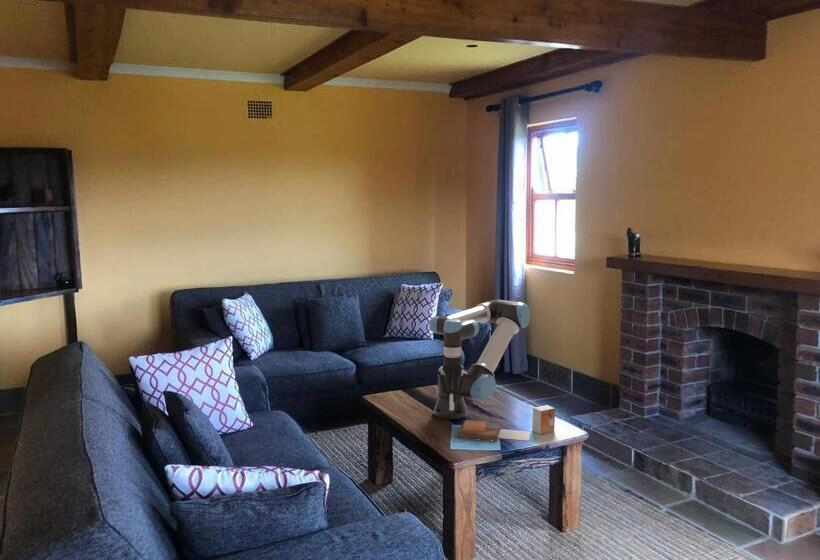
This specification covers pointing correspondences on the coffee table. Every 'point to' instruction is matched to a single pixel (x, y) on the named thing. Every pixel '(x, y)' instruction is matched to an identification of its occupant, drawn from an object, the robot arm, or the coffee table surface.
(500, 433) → the mat
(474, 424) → the salmon flat rectangular block
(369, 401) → the coffee table surface
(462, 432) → the board
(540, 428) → the small box
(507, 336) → the robot arm
